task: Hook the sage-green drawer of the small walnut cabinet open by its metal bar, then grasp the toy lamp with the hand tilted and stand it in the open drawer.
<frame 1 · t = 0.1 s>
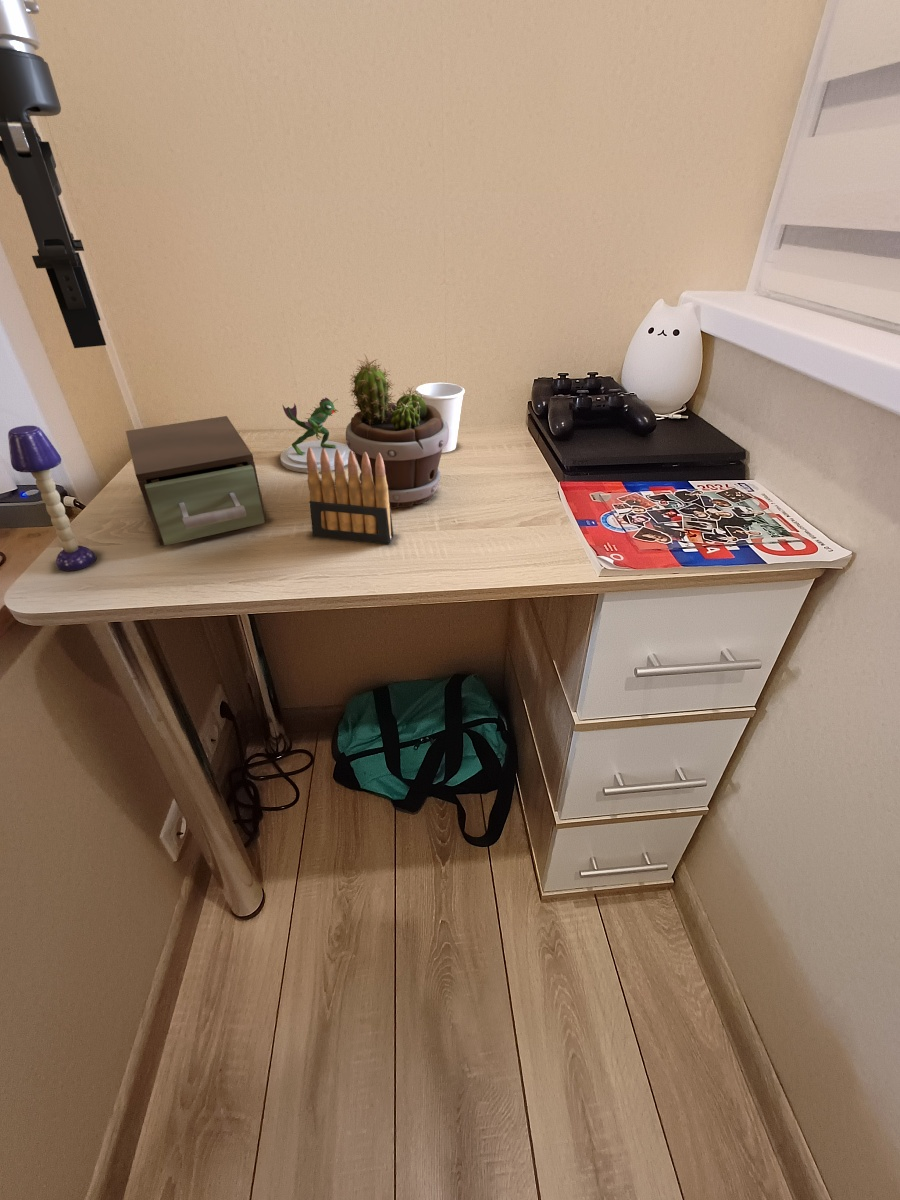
hand: (88, 332, 59), 25 cm above the table, tool pointing down, fingers open, 13 cm apart
dixie cup: (440, 447, 102), on the table
cabinet: (204, 507, 82), on the table
monster figurine: (317, 459, 97), on the table
flowerpot: (400, 494, 87), on the table
ammunition clip: (353, 538, 76), on the table
toy lamp: (81, 563, 71), on the table
drawer: (202, 491, 75), point 5 cm above the table, slide at 1.0 cm
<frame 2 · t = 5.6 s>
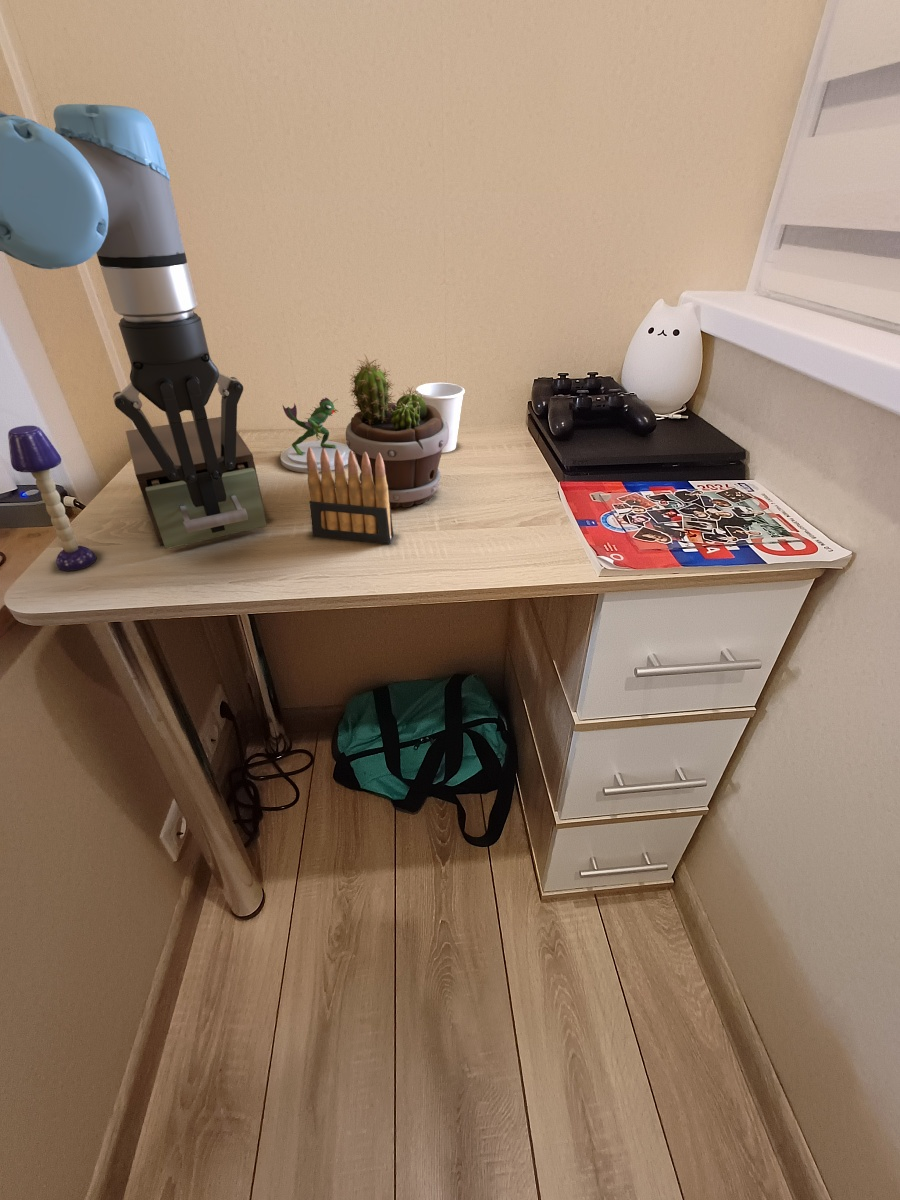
hand: (216, 526, 70), 4 cm above the table, tool pointing down, fingers closed
drawer: (203, 494, 75), point 5 cm above the table, slide at 2.0 cm, touching gripper
everything else where it was.
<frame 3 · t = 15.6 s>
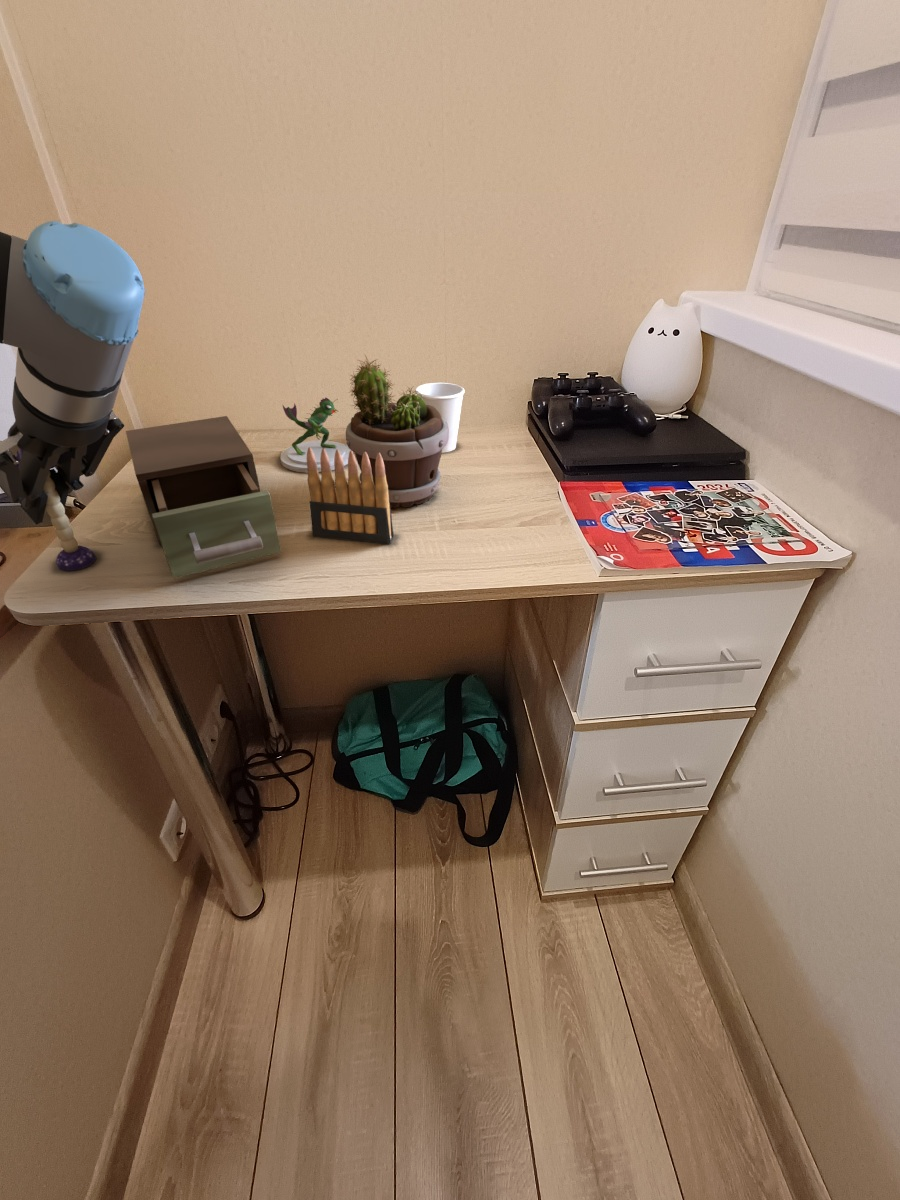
hand: (42, 509, 69), 6 cm above the table, tool tilted 45°, fingers closed on toy lamp, 2 cm apart
toy lamp: (81, 563, 71), on the table, touching gripper
drawer: (214, 518, 70), point 5 cm above the table, slide at 9.4 cm
everything else where it was.
when the fingers open (8 cm above the table, at t = 24.9 s): toy lamp stays where it is, resting on drawer.
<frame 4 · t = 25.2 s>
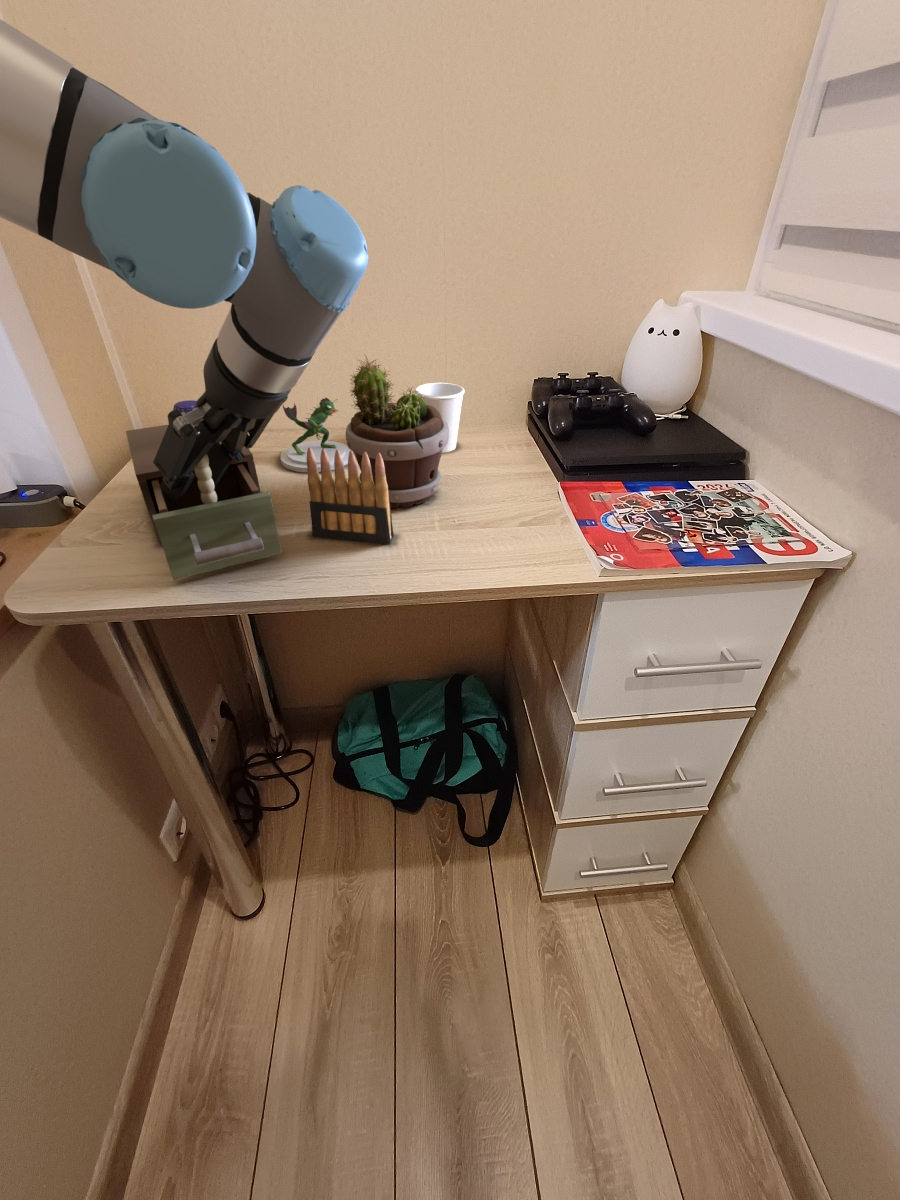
hand: (188, 486, 69), 8 cm above the table, tool tilted 45°, fingers open, 5 cm apart
toy lamp: (222, 539, 71), point 2 cm above the table, touching drawer
drawer: (214, 519, 69), point 5 cm above the table, slide at 9.8 cm, touching gripper, toy lamp
everything else where it was.
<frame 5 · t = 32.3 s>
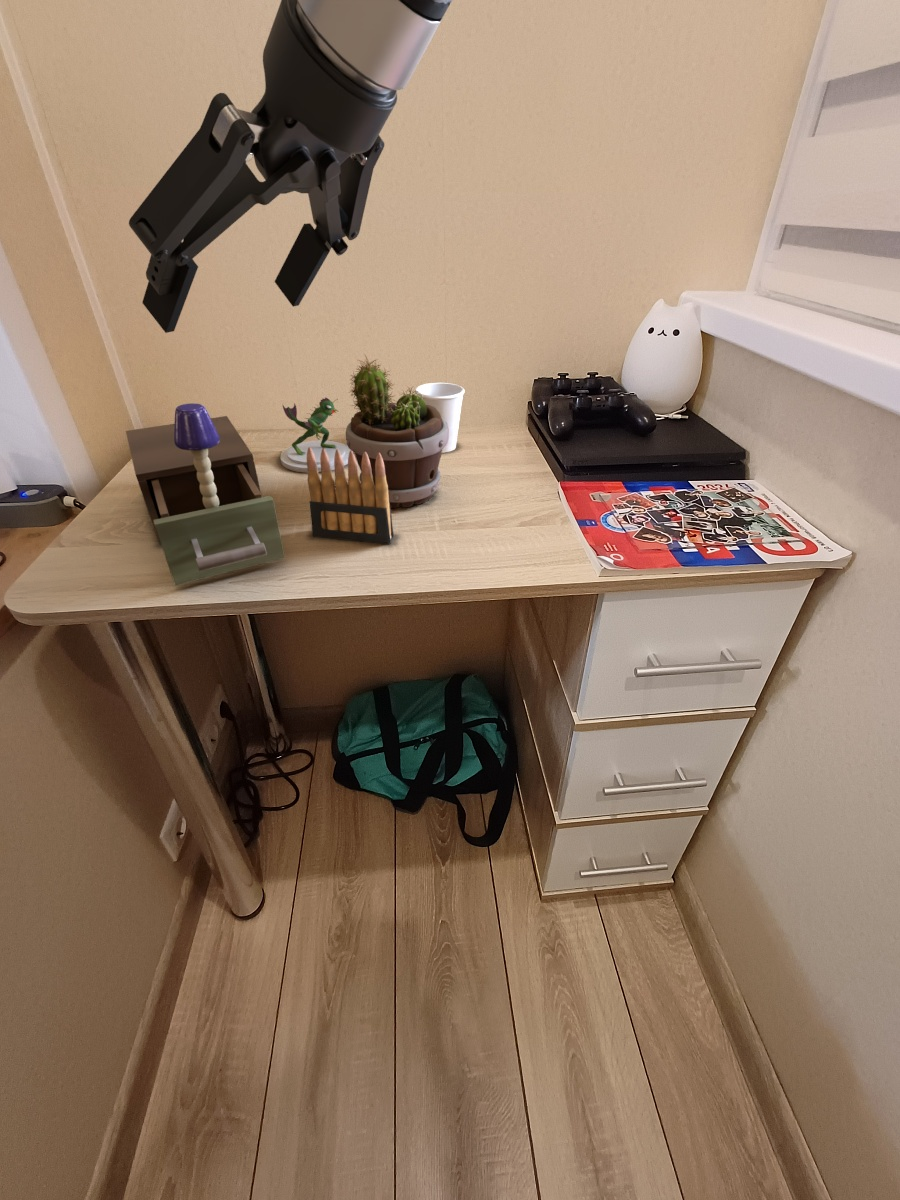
hand: (228, 304, 48), 30 cm above the table, tool tilted 45°, fingers open, 13 cm apart
toy lamp: (224, 544, 70), point 2 cm above the table, touching drawer
drawer: (216, 524, 68), point 5 cm above the table, slide at 11.0 cm, touching toy lamp
everything else where it was.
at the end: drawer slide at 11.0 cm; toy lamp inside the target area in the drawer (2.3 cm from its centre), point 1.9 cm above the cabinet's base; the gripper is holding nothing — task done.
